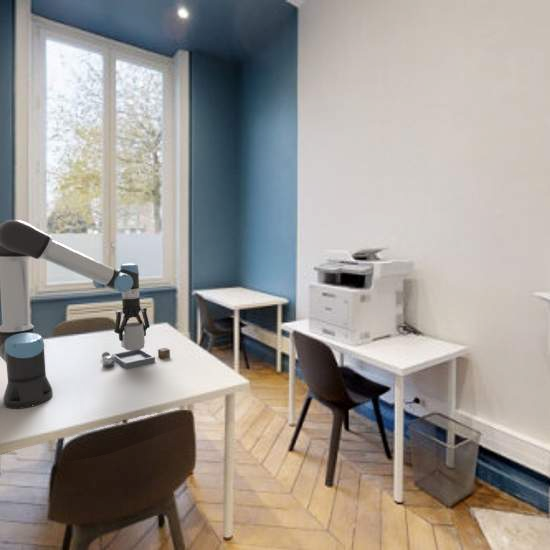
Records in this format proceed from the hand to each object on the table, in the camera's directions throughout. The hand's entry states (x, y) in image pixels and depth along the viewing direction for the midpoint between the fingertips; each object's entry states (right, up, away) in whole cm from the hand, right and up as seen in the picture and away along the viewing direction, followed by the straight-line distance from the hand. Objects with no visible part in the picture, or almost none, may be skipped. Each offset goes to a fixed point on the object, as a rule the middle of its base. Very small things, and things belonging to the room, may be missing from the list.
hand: (133, 345), depth 183 cm
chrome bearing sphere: (-9, -8, -6) cm, 14 cm away
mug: (+1, -1, +1) cm, 1 cm away
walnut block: (+13, -7, +6) cm, 16 cm away
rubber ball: (-14, -5, +2) cm, 15 cm away
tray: (0, -7, +1) cm, 8 cm away
